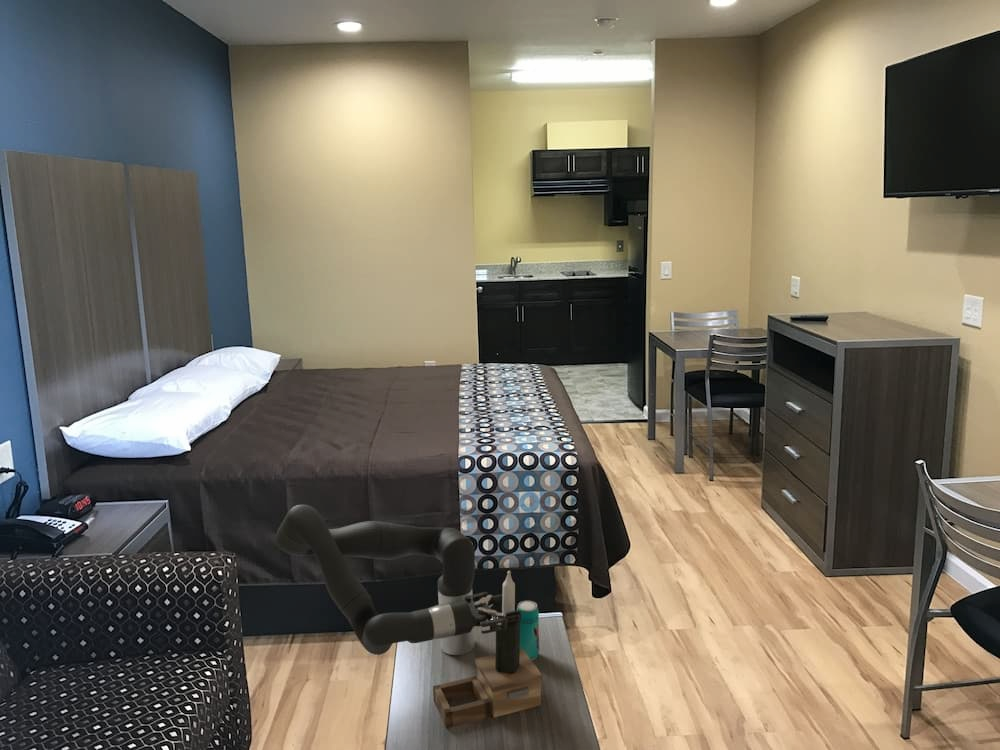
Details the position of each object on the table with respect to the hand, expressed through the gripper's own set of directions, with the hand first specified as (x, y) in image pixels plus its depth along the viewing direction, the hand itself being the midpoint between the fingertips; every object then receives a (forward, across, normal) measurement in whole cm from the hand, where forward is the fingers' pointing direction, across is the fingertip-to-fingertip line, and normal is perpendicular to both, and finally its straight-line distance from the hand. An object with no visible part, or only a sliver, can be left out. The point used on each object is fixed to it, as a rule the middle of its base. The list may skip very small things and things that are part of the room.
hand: (514, 606), depth 186 cm
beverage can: (+9, +14, +24) cm, 29 cm away
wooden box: (-8, 0, +24) cm, 25 cm away
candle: (-2, 0, +16) cm, 16 cm away
